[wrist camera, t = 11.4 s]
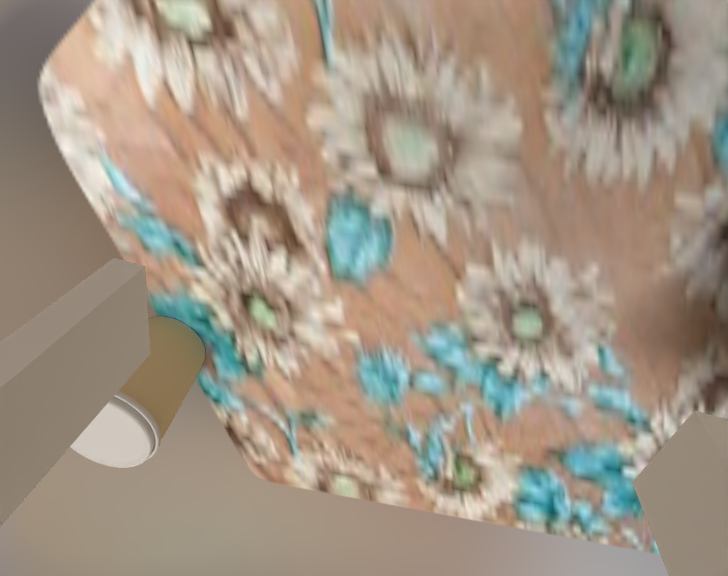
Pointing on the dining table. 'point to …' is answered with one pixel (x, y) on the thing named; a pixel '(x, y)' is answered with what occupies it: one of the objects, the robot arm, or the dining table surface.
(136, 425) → the coffee cup
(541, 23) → the dining table surface
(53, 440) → the robot arm
